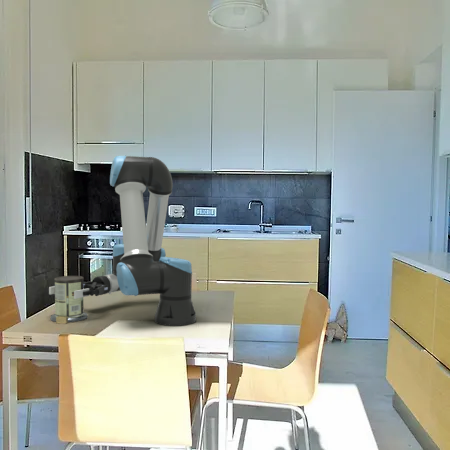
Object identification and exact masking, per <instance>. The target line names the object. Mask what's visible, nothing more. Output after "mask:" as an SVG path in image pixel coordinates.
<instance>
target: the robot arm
mask: <svg viewBox="0 0 450 450" xmlns="http://www.w3.org/2000/svg"><path fill="white" fill-rule="evenodd" d="M110 168H111V169H110V175H109V184H110V186H112V187H114V190H115V191H114V192H115V193H116V194H118V195H119V202H120V204H119V205H120V215H121V216H120V217H121V227H122V229H121V230H122V240H123V241H122V242H123V243H118V244H114V245H113V247H112V249H113V250H112V273H109V274H105V275H98V276H95V277H94V278H93V279H92V281H91V280H90V281H87V282H86V281H83V289H82V290H77V291H74V299H77V298H81V297H83V298H85V297H90V296H91V297H93V296H95V297H98V296H102V295H107V294H108V295H112V293H116V292H121V293H122V294H123V295H124V296H134V297H136V296H142V295H143V296H145V295H159V301H158V304H157V308H156V311H155V314H154V322H155V323H156V324H159V325H162V326H163V325H164V326H170V327H171V326H187V325H192V324H193V323H196V321H197V313H196V310H195V307H194V304H193V301H192V294H193V293H192V285H193V284H192V282H193V281H192V280H193V279H192V278H193V276H192V275H193V269H192V263H191V261H190V260H188V259H184V258H180V257H179V258H178V257H170V256H169V257H168V256H166V250H165V248H163V247H162V244H163V238H164V232H165V231H164V230H165V225H166V218H167V211H168V205H169V204H168V203H169V196H170V195H172V193H173V179H172V174H171V171H170V170H169V168H168V166H167V164H165V162H163V161H162V160H160V159H159V158H156V157H153V156H133V155H132V156H131V155H127V154H126V155H116V156H114V158H113V159H112V164H111V167H110ZM146 190H148V191H147V192H149V199H148V208H147V216H146V214H145V212H146V211H145V204H144V203H145V201H144V195H143V193H145V191H146ZM145 216H146V217H145ZM48 295H55V285H53V286H49V287H48Z"/></svg>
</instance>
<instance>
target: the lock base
mask: <svg viewBox="0 0 450 450" xmlns="http://www.w3.org/2000/svg"><path fill="white" fill-rule="evenodd" d="M83 312H84V315H83V316H80V317H76V318H68V316H57V317H55V313H53V314H51V315H50V322H55V324H59V325H60V324H63V325H65V324H68V323H75V322H76V323H77V322H81V321H84V320H86V319H88V313H87V312H85V311H83Z"/></svg>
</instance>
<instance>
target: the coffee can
mask: <svg viewBox="0 0 450 450" xmlns="http://www.w3.org/2000/svg"><path fill="white" fill-rule="evenodd" d="M83 282H84V276H81V275H64V276H56V277H54V286H55V294H54V305H55V306H54V309H55V310H54V314H55V317H57V316H68V318H76V317H80V316H83V315H84V312H85V311H84V297H81V298H77V299H74V291H77V290H82V289H84V288H83Z"/></svg>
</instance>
